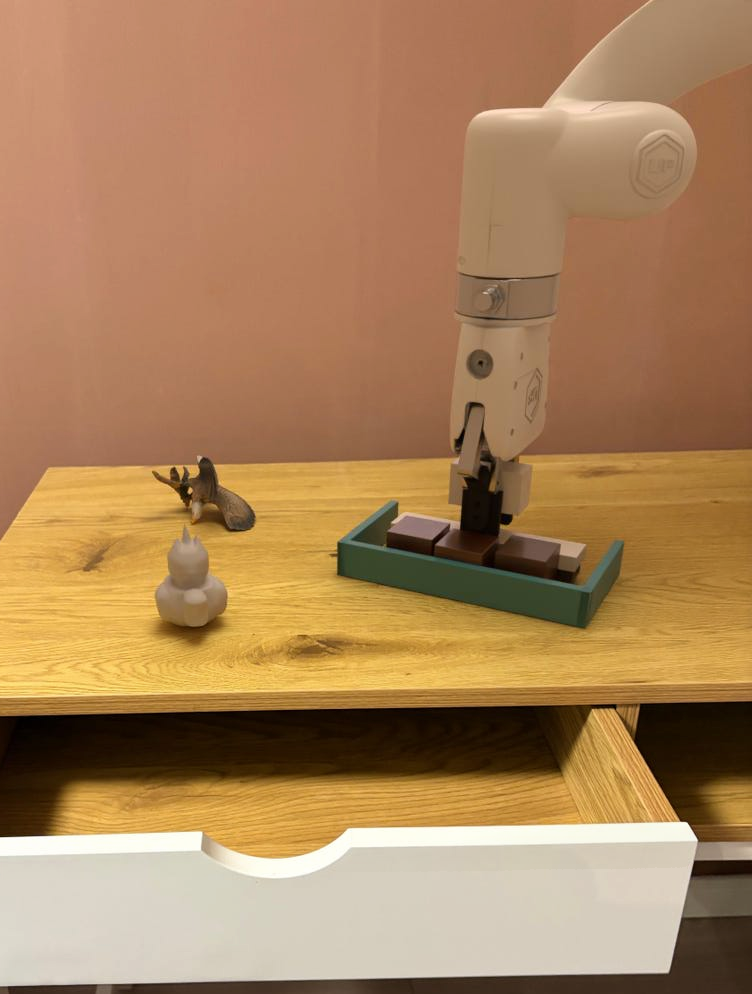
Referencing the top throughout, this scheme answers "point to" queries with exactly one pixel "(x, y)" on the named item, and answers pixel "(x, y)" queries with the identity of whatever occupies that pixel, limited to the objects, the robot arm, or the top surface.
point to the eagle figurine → (209, 495)
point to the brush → (513, 513)
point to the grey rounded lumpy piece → (190, 586)
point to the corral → (472, 576)
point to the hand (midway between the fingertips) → (486, 526)
